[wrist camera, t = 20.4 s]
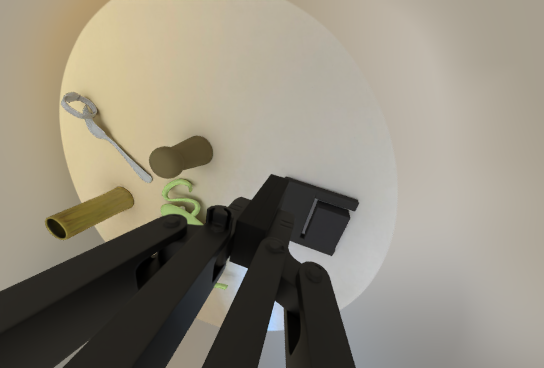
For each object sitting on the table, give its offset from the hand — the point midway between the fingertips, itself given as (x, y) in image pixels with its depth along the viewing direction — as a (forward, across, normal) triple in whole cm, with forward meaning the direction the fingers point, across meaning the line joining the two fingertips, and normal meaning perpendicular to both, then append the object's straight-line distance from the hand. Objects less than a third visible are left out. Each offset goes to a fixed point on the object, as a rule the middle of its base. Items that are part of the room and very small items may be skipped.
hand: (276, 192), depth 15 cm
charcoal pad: (+21, +9, -14) cm, 27 cm away
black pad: (+21, +5, -14) cm, 26 cm away
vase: (+21, -40, -26) cm, 52 cm away
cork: (+21, -20, -7) cm, 30 cm away
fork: (+21, -40, -12) cm, 47 cm away
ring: (+21, -46, -5) cm, 51 cm away
